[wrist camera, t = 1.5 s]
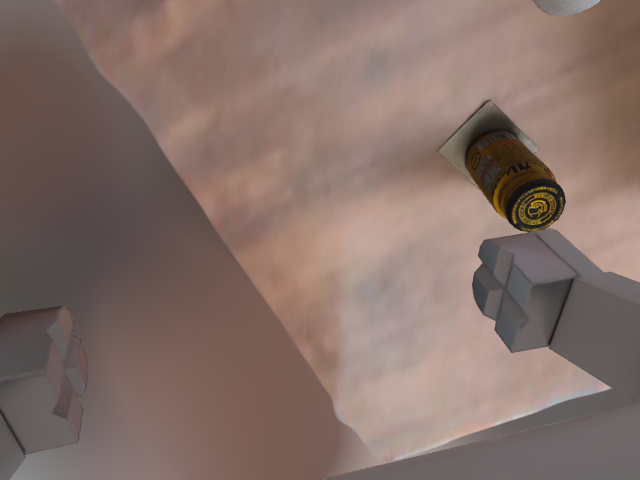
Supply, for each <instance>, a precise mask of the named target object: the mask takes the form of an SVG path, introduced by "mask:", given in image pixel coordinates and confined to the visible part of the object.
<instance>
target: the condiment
mask: <svg viewBox="0 0 640 480" xmlns="http://www.w3.org/2000/svg"><path fill="white" fill-rule="evenodd" d="M538 150H539V148H538V147H537V146H536V145H535V144H534V143H533V142H532V141H531V140H530V139H529V138H528V137H527V136H526V135H525V134H524V133H523V132H522V131H521V130H520V129H519V128H518V127H517V126H516V125H515V124H514V123H513V122H512V121H511V120H510V119H509V118H508V117H507V116H506V115H505V114H504V113H503V112H502V111H501V110H500V109H499V108H498V107H497V106H496V105H495V104H494V103H493V102H492V101H491V100H490V101H488V102H487V103H486V104H485V105H484V106H483V107H482V108H481V109H480V110H479V111H478V112H477V113H476V114H475V115H474V116H473V117H471V118H470V119H469V120H468V121H467V122H466V123H465V124H464V125H463V126H462V127H461V128H460V129H458V131H457V132H456V133H455V134H454V135H453V136H452V137H451V138H450V139H449V140H448V141H447V142H446V143H445V144H444V145H443V146H442V147H441V148H440V149H439V150H438V151H437V152H438V153H439V154H440V155H442V156H443V157H444V158H445V159H446V160H447V161H448V162H449V163H451V164H452V165H453V166H454V167H455V168H456V169H458V170H459V171H460V172H461V173H462V174H463V175H464V176H466V177H467V178H468V179H469V180H470V181H471V182H472V183H474V184H475V185H476V186H477V187H478V188H479V189H480V190H482V192H483V194H484V195H485V197H486V198H487V200H488V201H489V202H490V203H491V205H492V206H493V208H494V209H495V210H496V212H497V213H499V214H500V215H501V216H502V217H504V218H506V219H507V220H508V221H509V223H510V224H511V225H513V227H515V228H517V229H518V230H520V231H526V232H531V231H537V230H542V229H545V228H547V227H549V226H550V225H551V224H553V223H554V222H555V221H556V220H558V219H559V217H560V215H561V214H562V212H563V210H564V207H565V203H566V200H565V195H564V192H563V189H562V188H561V187H560V185H558V184H557V182H556V180H555V177H554V175H553V173H552V172H551V171H550V169H549V168H548V167H547V166H546V165H545V164H544V163H543V162H542V161H540V160H539V159H538V158H537V156H535V155H534V153H536V152H537V151H538Z"/></svg>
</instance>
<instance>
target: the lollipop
mask: <svg viewBox="0 0 640 480" xmlns="http://www.w3.org/2000/svg"><path fill="white" fill-rule="evenodd" d="M533 1H534V3H535V4H536V6H537V7H538V8H539V9H541V10H542V11H543V12H545V13H547V14H550V15H555V16H571V15H575V14H578V13H580V12H582V11H585V10H587V9H589V8H591V7H592V6H594V5H596V4H597V3H598V2H599V1H600V0H533Z"/></svg>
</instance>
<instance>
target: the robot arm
mask: <svg viewBox="0 0 640 480" xmlns="http://www.w3.org/2000/svg"><path fill="white" fill-rule="evenodd" d="M478 257H479V258H480V260H481V261H482V265H481V266H480V267H479V268H478V269H477V270H476V271H475V272H474V277H473V283H472V287H473V294H474V299H475V301H476V303H477V306H478V307H479V309H480V310H481V312H482V313H483V315H485V316H487V317H489V318H491V319H493V320H495V321H496V324H495V331H496V333H497V334H498V335H499V337H500V338H501V339H502V341H503V342H504V343H505V345H506V346H507V347H508V349H509V350H510V352H511V353H514V352H520V351H525V350H531V349H537V348H542V347H548V346H550V347H549V349H551V350H553V351H554V352H556V353H557V354H559V355H561V356H562V357H564V358H565V359H567V360H569V361H570V362H572V363H573V364H575V365H576V366H578V367H580V368H581V369H583V370H584V371H586V372H588V373H589V374H591V375H592V376H594V377H596V378H597V379H599V380H600V381H602V382H604V383H605V384H607V385H608V386H610V387H612V388H613V389H615V390H616V391H618V392H620V393H621V394H623V395H625V396H626V397H628V398H629V399H631V400H632V401H634V402H636V404H632V405H627V406H624V407H619V408H616V409H611V410H607V411H603V412H598V413H594V414H590V415H586V416H582V417H577V418H573V419H569V420H565V421H561V422H557V423H553V424H548V425H544V426H540V427H536V428H532V429H528V430H524V431H520V432H515V433H511V434H507V435H503V436H499V437H495V438H491V439H486V440H483V441H478V442H474V443H470V444H466V445H462V446H457V447H453V448H450V449H445V450H441V451H437V452H433V453H428V454H424V455H420V456H416V457H412V458H408V459H403V460H399V461H395V462H391V463H387V464H383V465H378V466H374V467H370V468H366V469H362V470H358V471H353V472H350V473H345V474H341V475H337V476H332V477H328V478H324V479H320V480H640V283H639V282H637V281H634V280H631V279H629V278H626V277H623V276H621V275H618V274H615V273H613V272H606V273H604V272H603V271H601V270H600V269H599V268H598V267H597V266H596V265H595V264H594V263H593V262H591V261H590V260H589V259H588V258H587V257H586V256H585V255H584V254H583V253H581V252H580V251H579V250H578V249H577V248H576V247H575V246H574V245H573V244H571V243H570V242H569V241H568V240H567V239H566V238H565V237H564V236H563V235H561V234H560V233H559V232H558V231H557V230H554V229H551V228H548V229H542V230H537V231H531V232H528V233H523V234H517V235H511V236H505V237H499V238H493V239H487V240H484V241H483V243H482V244H481V246H480V249H479V254H478ZM73 326H74V320H73V318H72V316H71V314H70V311H69V309H68V308H66V307H65V306H60V307H52V308H45V309H38V310H30V311H23V312H16V313H8V314H4V315H0V480H9V479H10V478H11V477H12V475H13V474H14V473H15V471H16V470H17V469H18V467H19V466H20V465H21V463H22V462H23V461H24V459H25V458H26V456H25V455H27V454H30V453H35V452H39V451H43V450H48V449H52V448H57V447H61V446H64V445H69V444H74V443H78V442H79V435H80V429H81V422H82V416H83V408H82V406H81V403H80V401H79V397H80V396H81V395H82V394H83V393H84V392H85V391H86V388H87V380H88V370H87V369H88V367H87V358H86V353H85V349H84V346H83V344H82V341H81V339H79V338H77V337H76V336H74V335H72V331H73Z"/></svg>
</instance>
